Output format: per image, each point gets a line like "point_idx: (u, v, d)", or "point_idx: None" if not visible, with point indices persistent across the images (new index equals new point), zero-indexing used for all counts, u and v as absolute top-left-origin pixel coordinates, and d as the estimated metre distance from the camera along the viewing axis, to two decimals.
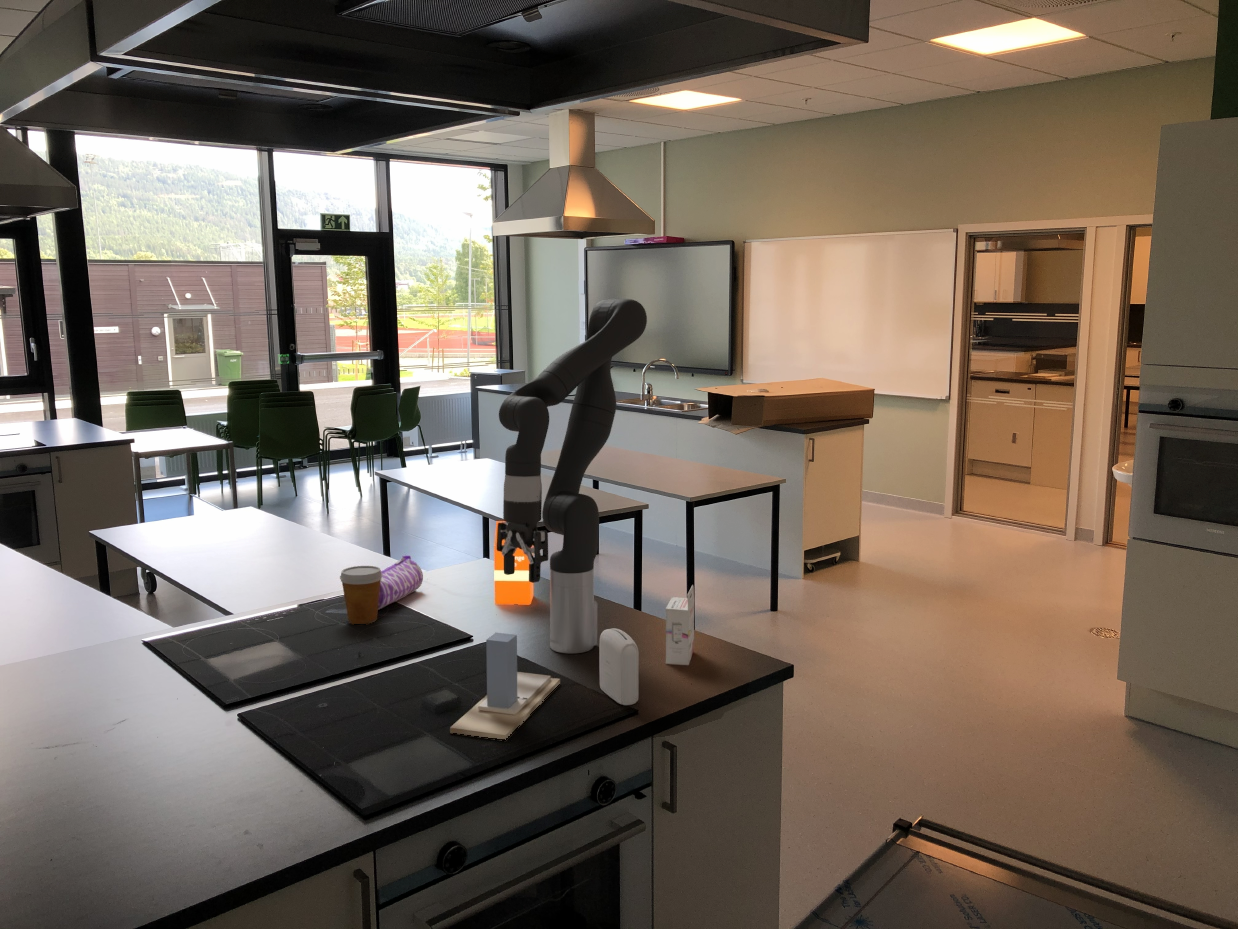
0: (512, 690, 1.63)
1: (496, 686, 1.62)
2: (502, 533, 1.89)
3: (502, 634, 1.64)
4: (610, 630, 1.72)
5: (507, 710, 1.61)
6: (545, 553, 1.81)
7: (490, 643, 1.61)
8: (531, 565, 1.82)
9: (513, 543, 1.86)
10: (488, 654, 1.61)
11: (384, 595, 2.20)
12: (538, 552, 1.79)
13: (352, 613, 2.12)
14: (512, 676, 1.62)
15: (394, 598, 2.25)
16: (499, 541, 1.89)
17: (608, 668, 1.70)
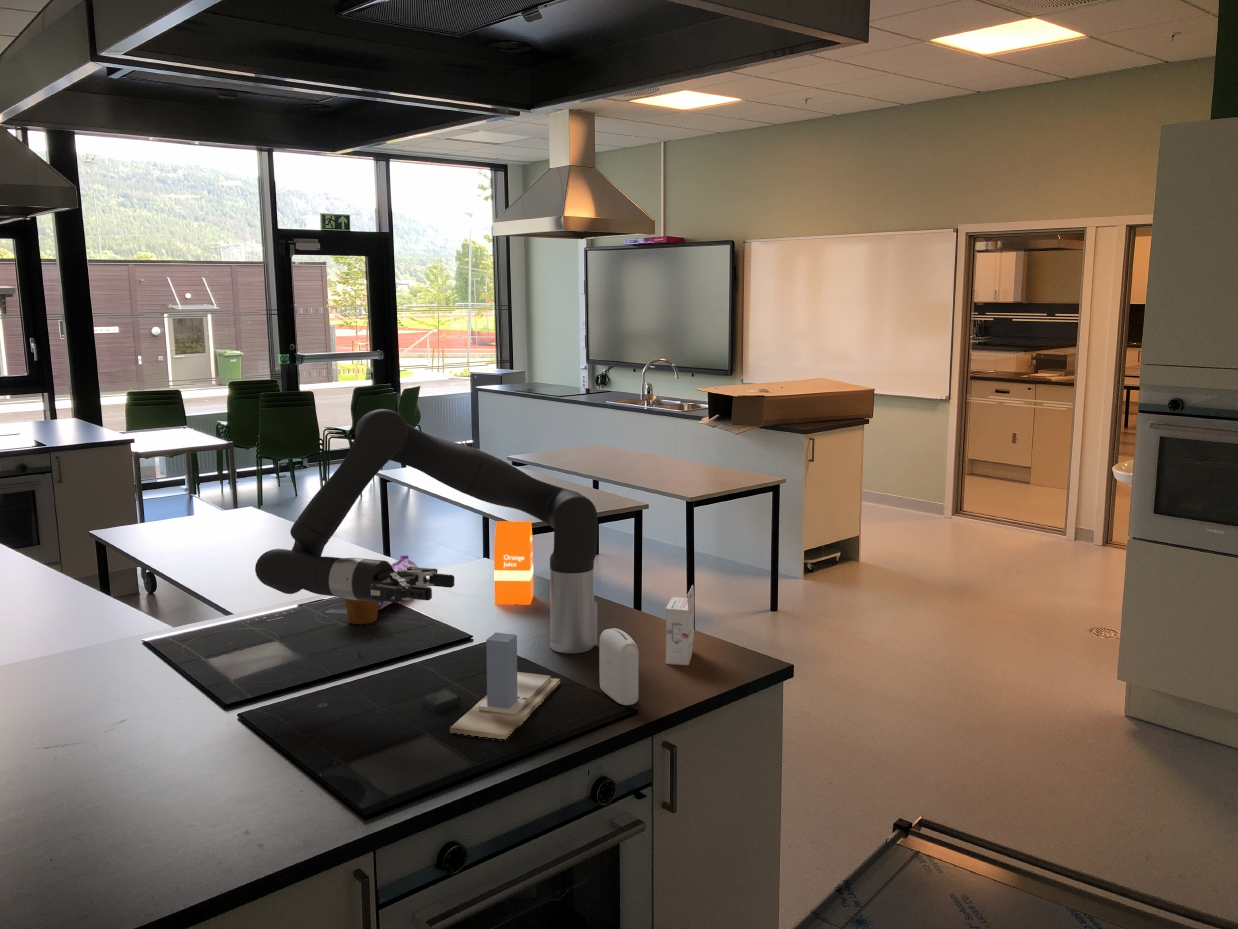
0: (512, 690, 1.63)
1: (496, 686, 1.62)
2: (416, 579, 1.72)
3: (502, 634, 1.64)
4: (610, 630, 1.72)
5: (507, 710, 1.61)
6: None
7: (490, 643, 1.61)
8: (412, 597, 1.61)
9: None
10: (488, 654, 1.61)
11: None
12: (389, 600, 1.59)
13: (352, 613, 2.12)
14: (512, 676, 1.62)
15: None
16: (425, 582, 1.72)
17: (608, 668, 1.70)
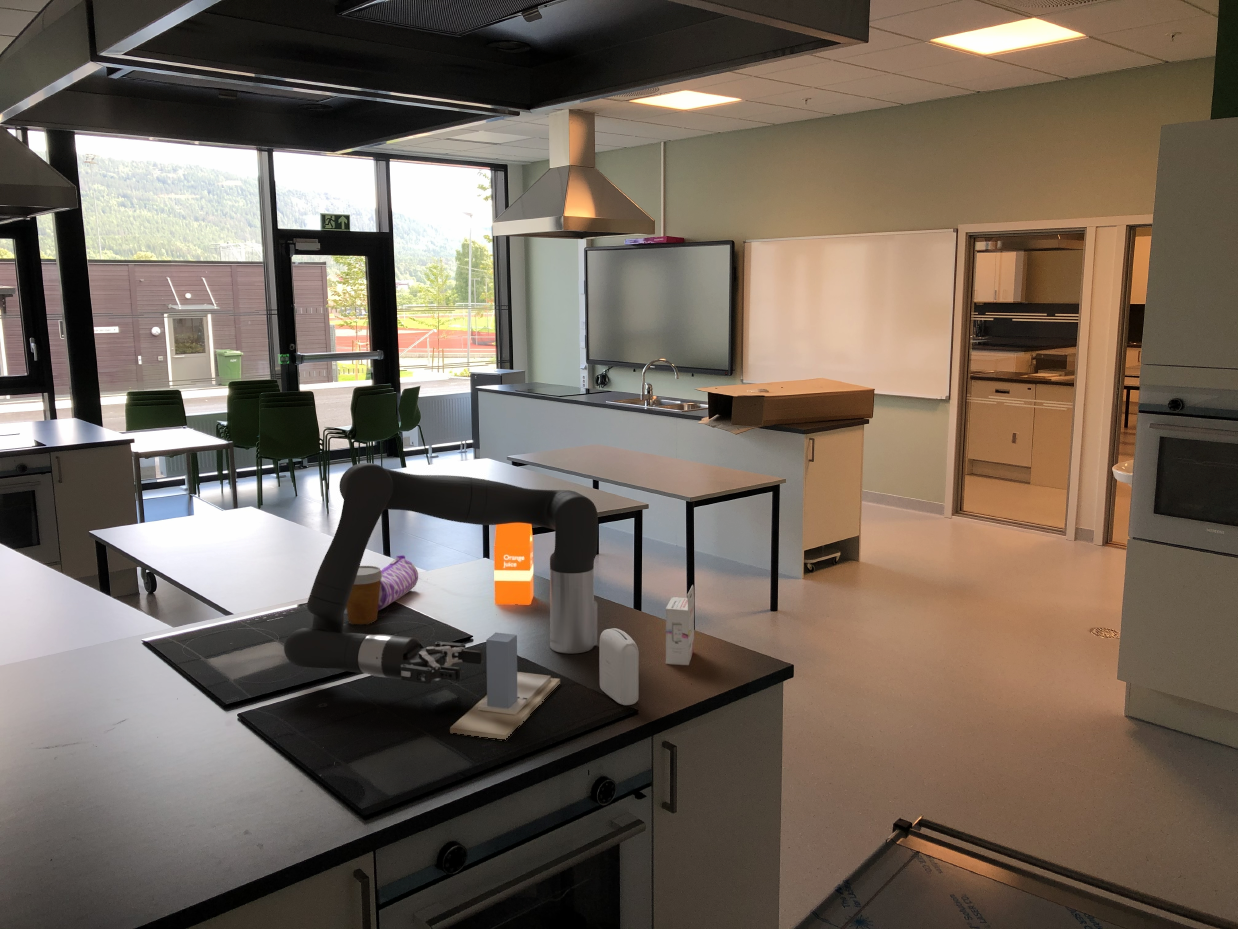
0: (512, 690, 1.63)
1: (496, 686, 1.62)
2: (444, 654, 1.73)
3: (502, 634, 1.64)
4: (610, 630, 1.72)
5: (507, 710, 1.61)
6: None
7: (490, 643, 1.61)
8: None
9: None
10: (488, 654, 1.61)
11: (387, 595, 2.20)
12: (419, 681, 1.60)
13: (352, 613, 2.12)
14: (512, 676, 1.62)
15: (395, 598, 2.25)
16: None
17: (608, 668, 1.70)
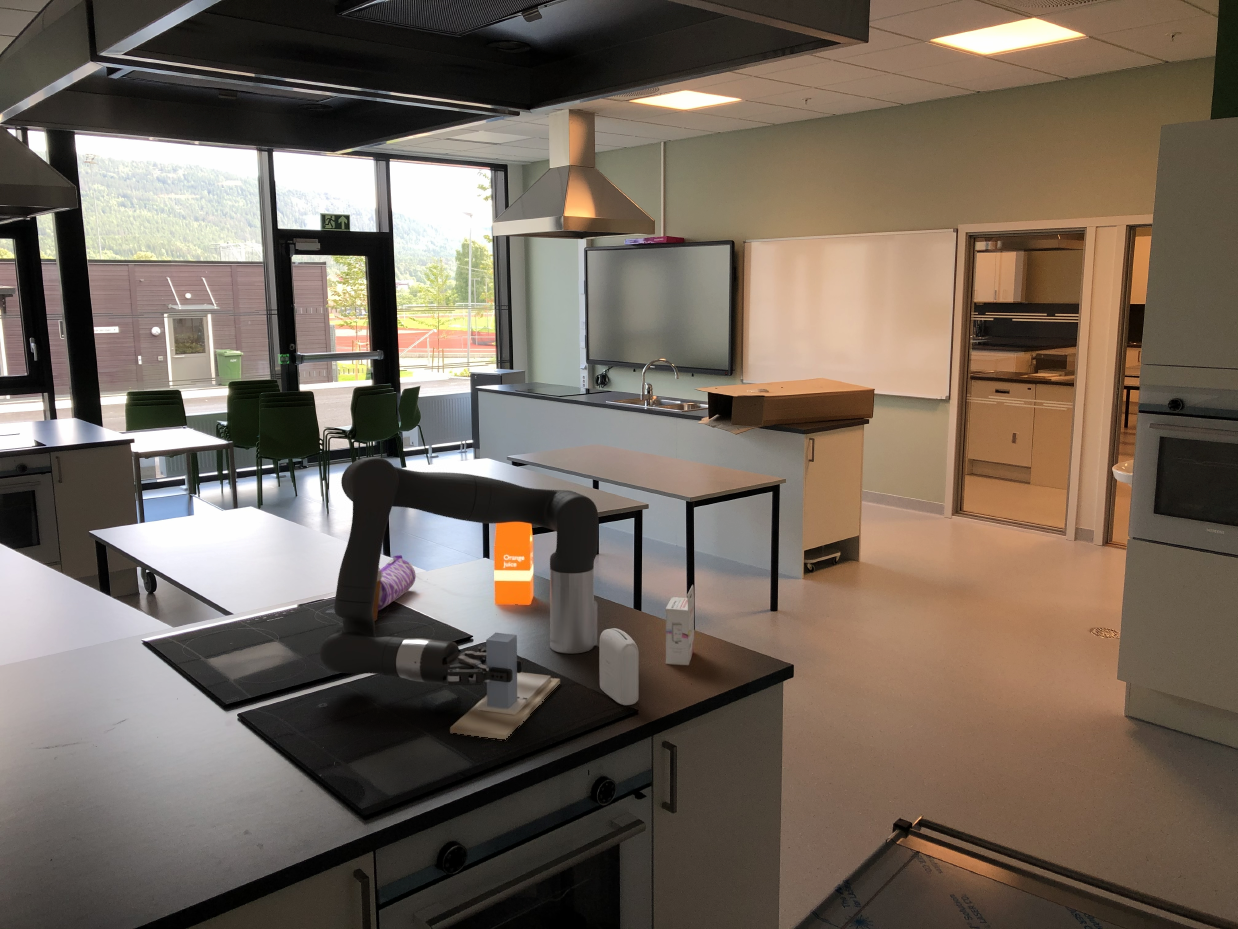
0: (512, 690, 1.63)
1: (496, 686, 1.61)
2: (485, 660, 1.69)
3: (502, 634, 1.64)
4: (610, 630, 1.72)
5: (507, 710, 1.61)
6: None
7: (490, 643, 1.61)
8: None
9: None
10: (488, 654, 1.61)
11: (387, 594, 2.20)
12: (470, 684, 1.59)
13: None
14: None
15: (394, 597, 2.26)
16: None
17: (608, 668, 1.70)
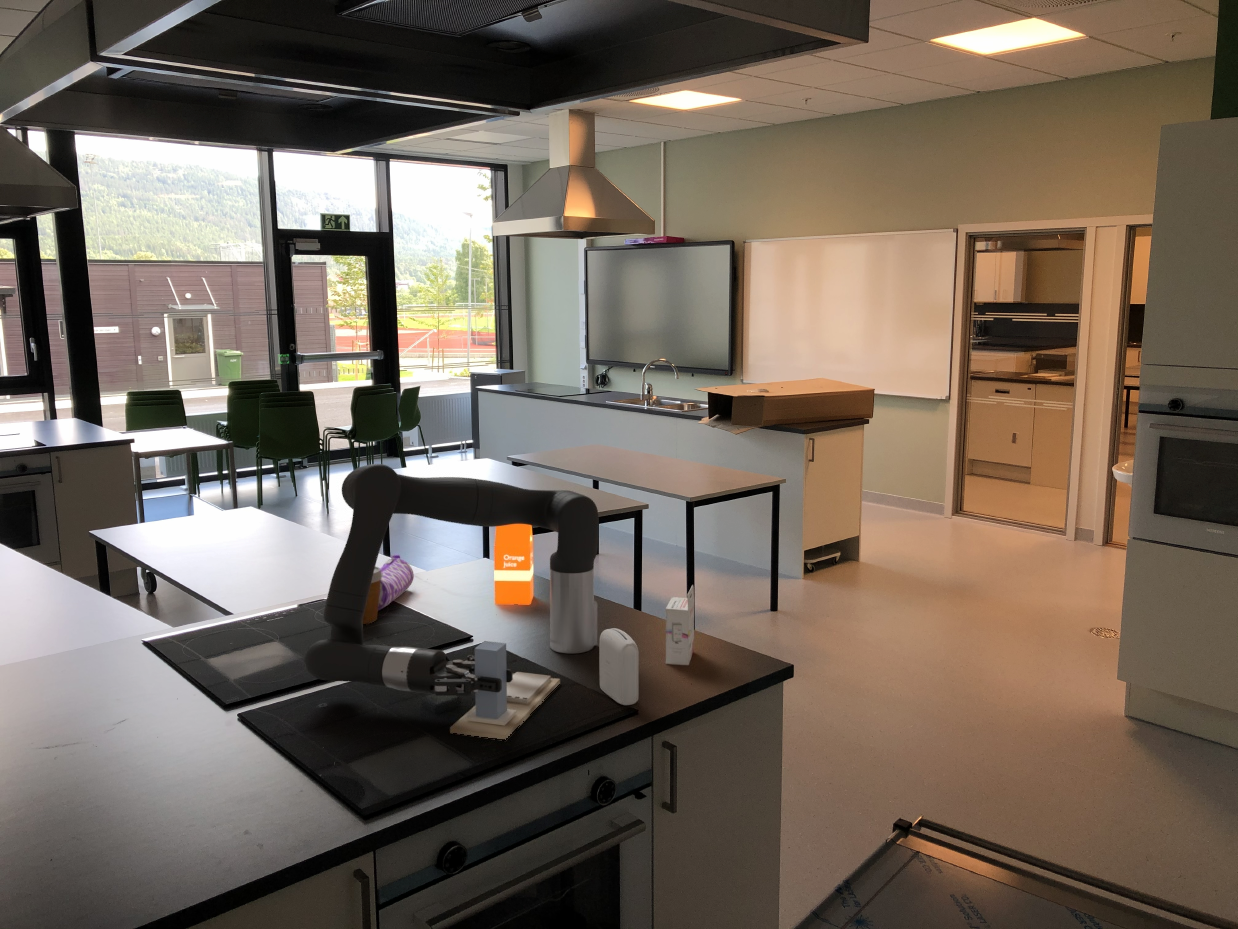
0: (501, 700, 1.58)
1: (485, 696, 1.57)
2: (474, 669, 1.65)
3: (491, 642, 1.59)
4: (610, 630, 1.72)
5: (496, 721, 1.57)
6: None
7: (479, 651, 1.56)
8: None
9: None
10: (476, 663, 1.57)
11: (387, 594, 2.21)
12: (458, 694, 1.54)
13: None
14: None
15: (394, 597, 2.26)
16: None
17: (608, 668, 1.70)
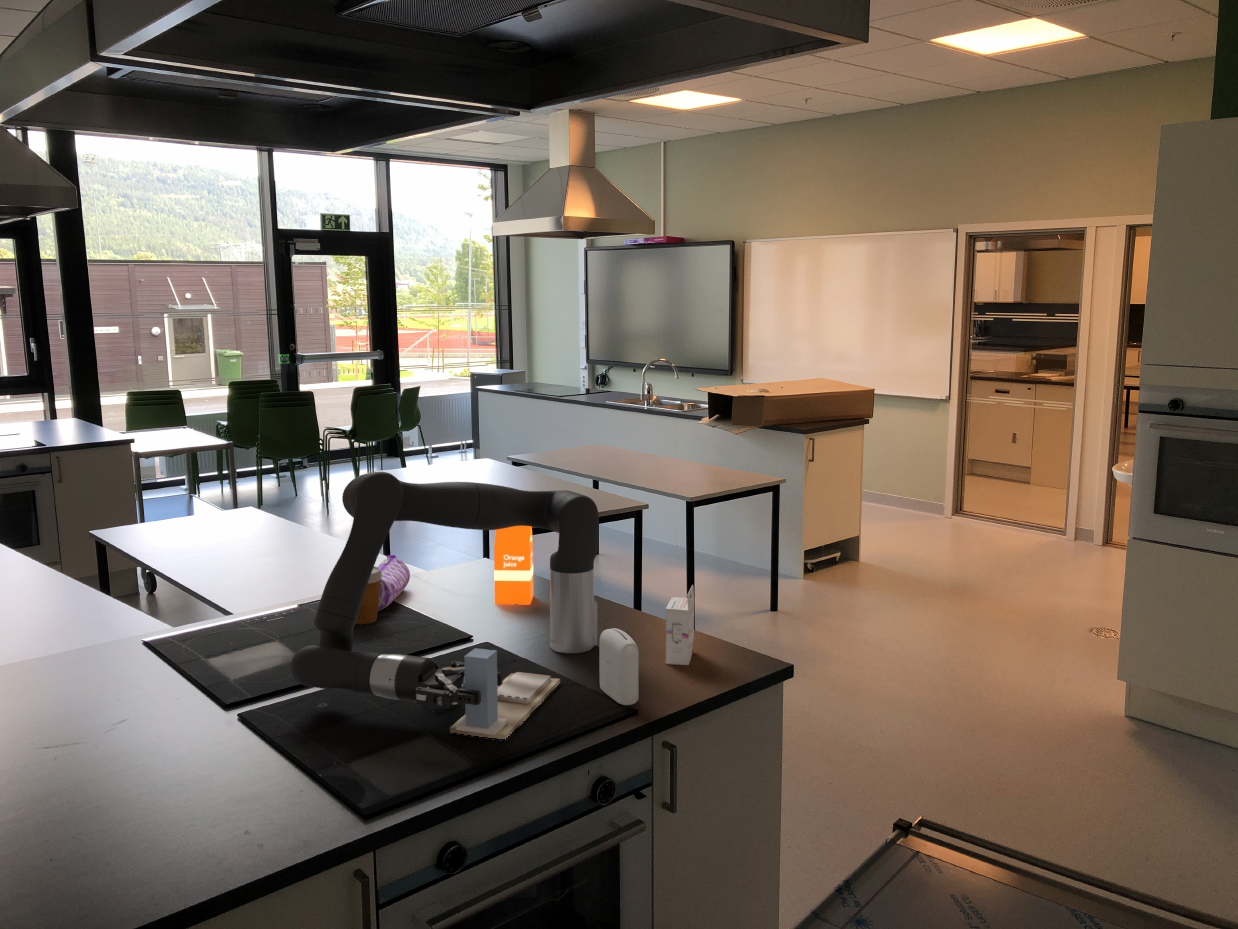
0: (492, 709, 1.55)
1: (475, 705, 1.53)
2: (461, 675, 1.62)
3: (481, 650, 1.56)
4: (610, 630, 1.72)
5: (486, 730, 1.53)
6: None
7: (468, 659, 1.53)
8: None
9: None
10: (466, 671, 1.53)
11: (389, 594, 2.21)
12: (436, 706, 1.50)
13: None
14: (491, 694, 1.54)
15: (394, 597, 2.26)
16: None
17: (608, 668, 1.70)
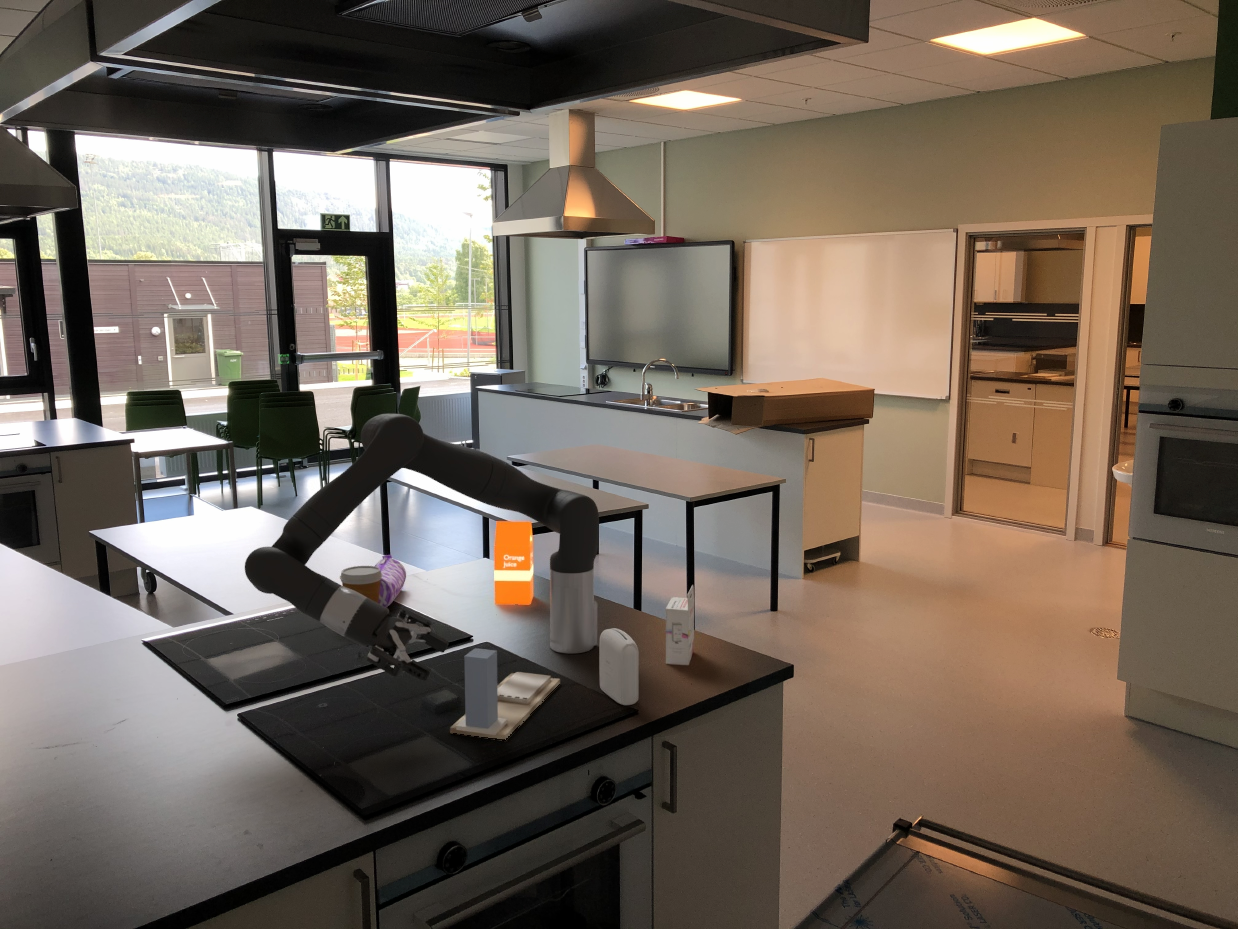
0: (492, 709, 1.55)
1: (475, 705, 1.53)
2: (406, 624, 1.65)
3: (481, 650, 1.56)
4: (610, 630, 1.72)
5: (486, 730, 1.53)
6: None
7: (468, 659, 1.53)
8: None
9: None
10: (466, 671, 1.53)
11: (391, 594, 2.21)
12: (386, 671, 1.54)
13: None
14: (491, 694, 1.54)
15: (395, 596, 2.26)
16: None
17: (608, 668, 1.70)
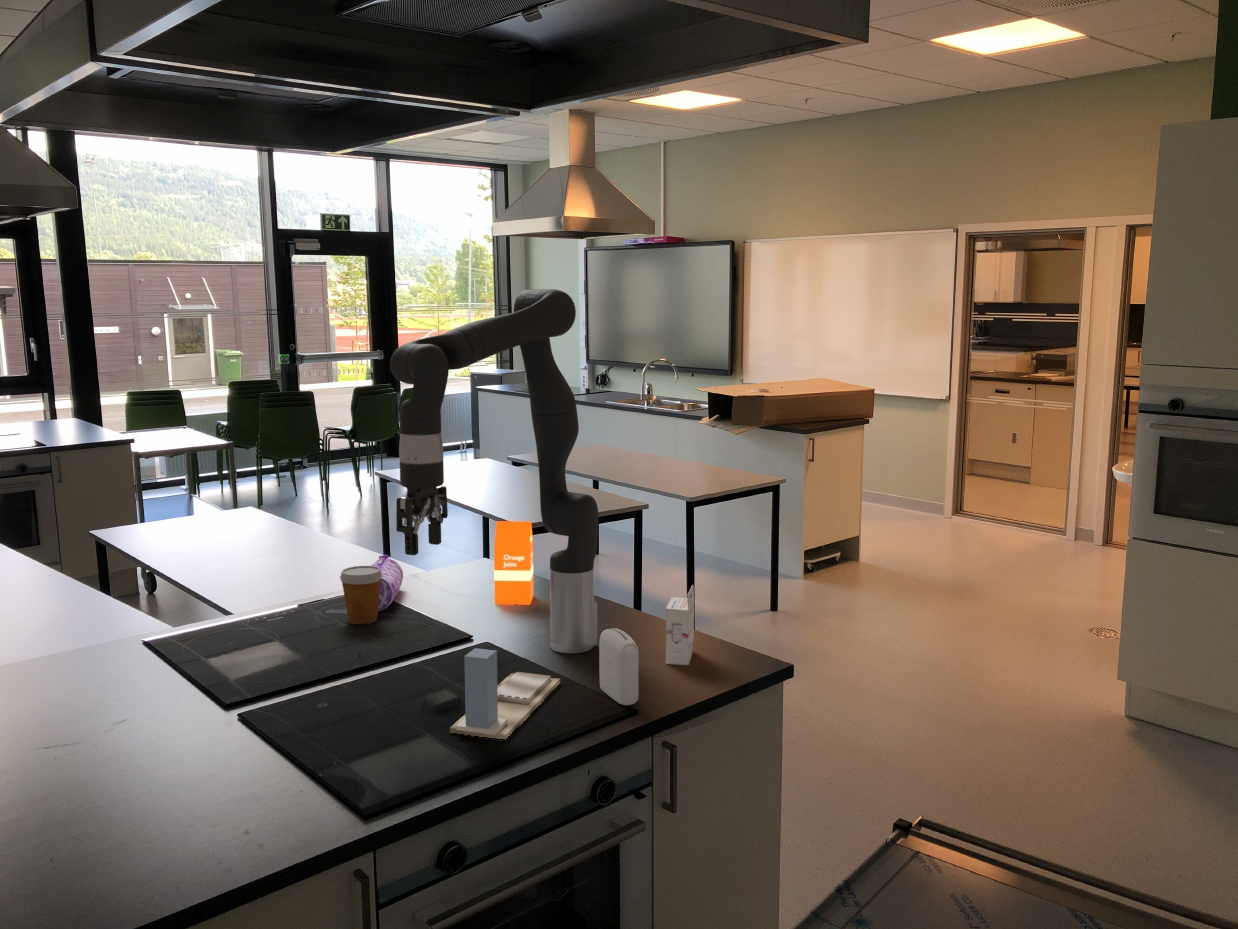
0: (492, 709, 1.55)
1: (475, 705, 1.53)
2: None
3: (481, 650, 1.56)
4: (610, 630, 1.72)
5: (486, 730, 1.53)
6: None
7: (468, 659, 1.53)
8: None
9: None
10: (466, 671, 1.53)
11: (392, 593, 2.21)
12: (397, 520, 1.58)
13: (352, 613, 2.12)
14: (491, 694, 1.54)
15: (394, 596, 2.26)
16: None
17: (608, 668, 1.70)
